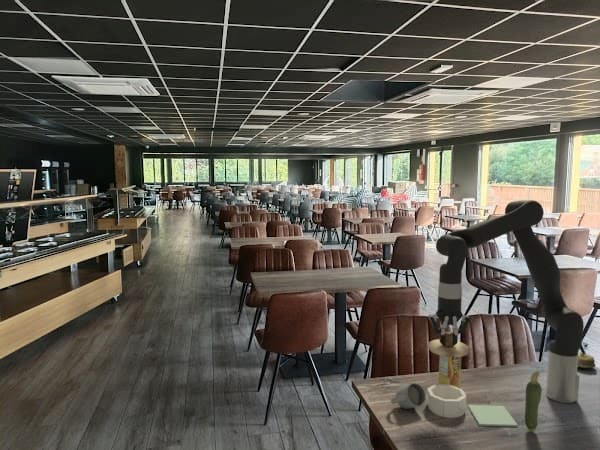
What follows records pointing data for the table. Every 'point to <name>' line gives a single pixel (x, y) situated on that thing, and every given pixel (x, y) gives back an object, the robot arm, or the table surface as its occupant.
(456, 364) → the candy box
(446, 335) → the lid
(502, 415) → the mat
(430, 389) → the bowl
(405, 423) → the table surface
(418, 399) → the ceramic mug
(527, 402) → the vegetable
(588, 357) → the cake
